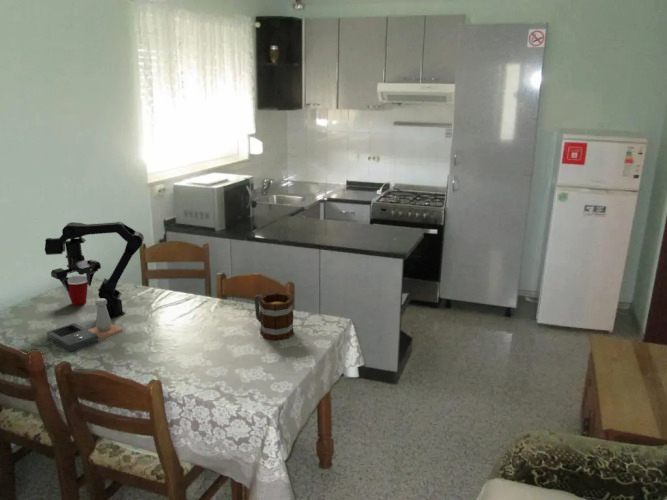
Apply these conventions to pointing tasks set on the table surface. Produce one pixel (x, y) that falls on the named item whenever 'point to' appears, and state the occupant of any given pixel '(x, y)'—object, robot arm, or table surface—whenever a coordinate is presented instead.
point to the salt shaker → (102, 315)
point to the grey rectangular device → (72, 337)
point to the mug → (275, 315)
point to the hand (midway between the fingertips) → (79, 288)
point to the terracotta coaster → (111, 331)
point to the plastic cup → (77, 289)
